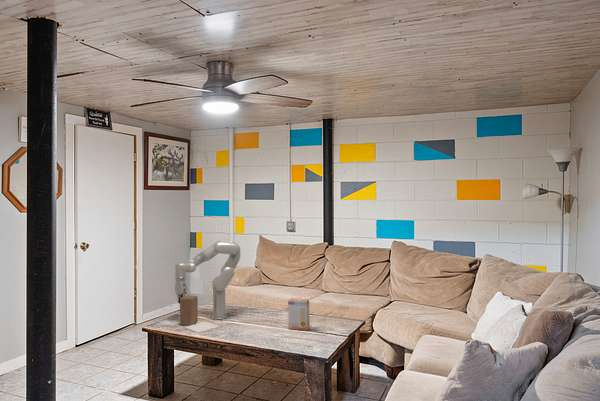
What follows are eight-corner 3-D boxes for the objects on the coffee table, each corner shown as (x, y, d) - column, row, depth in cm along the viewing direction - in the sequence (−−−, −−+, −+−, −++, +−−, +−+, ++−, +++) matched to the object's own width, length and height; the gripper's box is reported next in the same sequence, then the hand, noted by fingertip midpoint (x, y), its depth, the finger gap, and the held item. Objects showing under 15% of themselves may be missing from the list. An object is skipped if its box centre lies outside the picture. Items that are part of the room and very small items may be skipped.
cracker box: (309, 328, 309) (309, 299, 308) (307, 331, 303) (306, 301, 303) (291, 326, 313) (290, 297, 313) (288, 329, 307) (287, 299, 307)
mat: (205, 322, 327) (205, 321, 327) (219, 327, 314) (219, 326, 314) (184, 327, 314) (184, 327, 314) (198, 333, 302) (198, 332, 302)
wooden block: (192, 326, 318) (192, 298, 318) (179, 325, 320) (179, 298, 320) (198, 322, 328) (197, 295, 328) (186, 321, 330) (185, 295, 330)
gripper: (190, 279, 329) (190, 304, 329) (179, 277, 339) (180, 300, 340) (181, 281, 324) (181, 305, 324) (171, 278, 334) (171, 302, 334)
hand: (180, 303), depth 332 cm, fingers closed
